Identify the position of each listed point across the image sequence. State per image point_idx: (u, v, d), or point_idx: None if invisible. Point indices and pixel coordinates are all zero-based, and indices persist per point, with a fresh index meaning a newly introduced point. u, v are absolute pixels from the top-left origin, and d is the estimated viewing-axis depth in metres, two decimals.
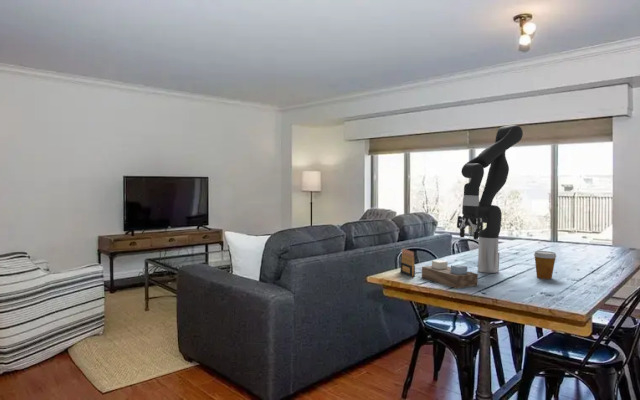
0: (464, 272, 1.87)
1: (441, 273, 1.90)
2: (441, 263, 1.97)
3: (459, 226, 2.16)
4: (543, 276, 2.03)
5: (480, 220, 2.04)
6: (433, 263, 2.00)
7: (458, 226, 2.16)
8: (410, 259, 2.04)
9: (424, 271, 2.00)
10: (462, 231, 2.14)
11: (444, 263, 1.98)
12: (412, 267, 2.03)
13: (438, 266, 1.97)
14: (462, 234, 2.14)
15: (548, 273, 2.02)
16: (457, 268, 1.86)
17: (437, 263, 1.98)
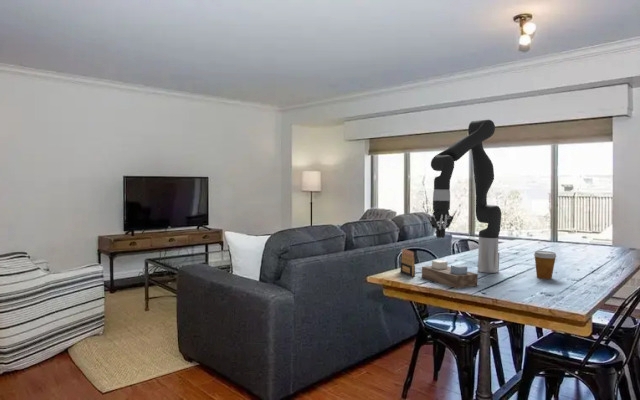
0: (464, 272, 1.87)
1: (441, 273, 1.90)
2: (441, 263, 1.97)
3: None
4: (543, 276, 2.03)
5: None
6: (433, 263, 2.00)
7: (437, 226, 1.97)
8: (410, 259, 2.04)
9: (424, 271, 2.00)
10: None
11: (444, 263, 1.98)
12: (412, 267, 2.03)
13: (438, 266, 1.97)
14: None
15: (548, 273, 2.02)
16: (457, 268, 1.86)
17: (437, 263, 1.98)
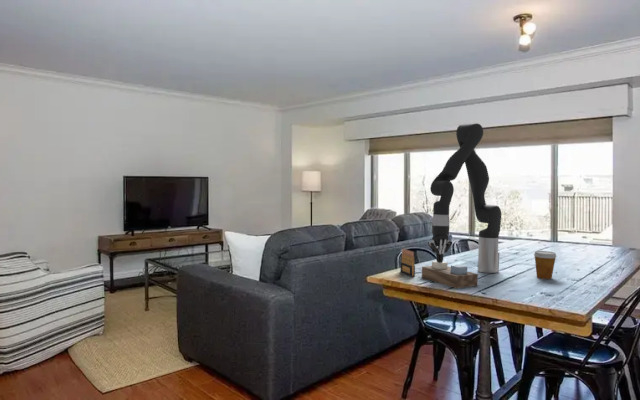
0: (464, 272, 1.87)
1: (441, 273, 1.90)
2: (441, 264, 1.97)
3: (437, 251, 1.98)
4: (543, 276, 2.03)
5: None
6: (433, 264, 2.00)
7: (438, 251, 1.97)
8: (410, 259, 2.04)
9: (424, 271, 2.00)
10: None
11: (444, 264, 1.98)
12: (412, 267, 2.03)
13: (438, 267, 1.97)
14: None
15: (548, 273, 2.02)
16: (457, 268, 1.86)
17: (437, 264, 1.98)
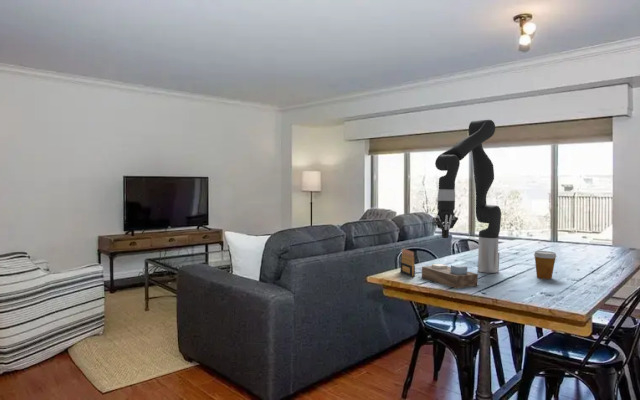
0: (464, 272, 1.87)
1: (441, 273, 1.90)
2: (441, 267, 1.97)
3: None
4: (543, 276, 2.03)
5: None
6: (433, 267, 2.00)
7: (443, 227, 1.94)
8: (410, 259, 2.04)
9: (424, 271, 2.00)
10: None
11: (444, 267, 1.98)
12: (412, 267, 2.03)
13: None
14: None
15: (548, 273, 2.02)
16: (457, 268, 1.86)
17: (437, 267, 1.98)
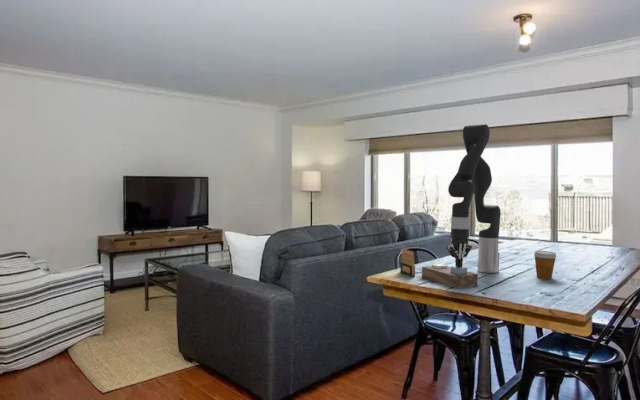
0: (464, 273, 1.87)
1: (441, 273, 1.90)
2: (441, 267, 1.97)
3: None
4: (543, 276, 2.03)
5: None
6: (433, 267, 2.00)
7: (457, 256, 1.87)
8: (410, 259, 2.04)
9: (424, 271, 2.00)
10: None
11: (444, 267, 1.98)
12: (412, 267, 2.03)
13: None
14: None
15: (548, 273, 2.02)
16: (457, 269, 1.86)
17: (437, 267, 1.98)
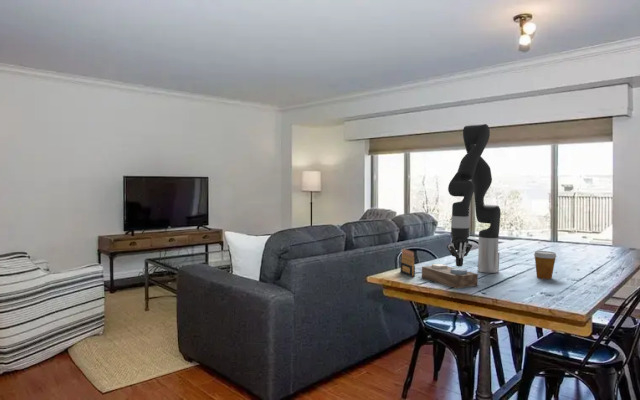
0: None
1: (441, 273, 1.90)
2: (441, 267, 1.97)
3: None
4: (543, 276, 2.03)
5: None
6: (433, 267, 2.00)
7: (457, 255, 1.87)
8: (410, 259, 2.04)
9: (424, 271, 2.00)
10: None
11: (444, 267, 1.98)
12: (412, 267, 2.03)
13: None
14: None
15: (548, 273, 2.02)
16: (457, 272, 1.87)
17: (437, 267, 1.98)
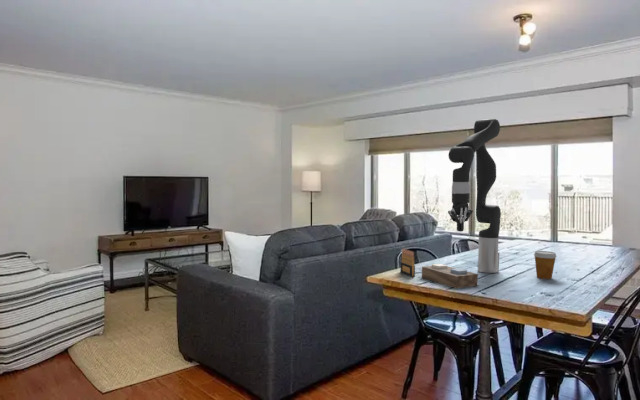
0: None
1: (441, 273, 1.90)
2: (441, 267, 1.97)
3: None
4: (543, 276, 2.03)
5: None
6: (433, 267, 2.00)
7: (458, 220, 1.91)
8: (410, 259, 2.04)
9: (424, 271, 2.00)
10: None
11: (444, 267, 1.98)
12: (412, 267, 2.03)
13: None
14: None
15: (548, 273, 2.02)
16: (457, 272, 1.87)
17: (437, 267, 1.98)
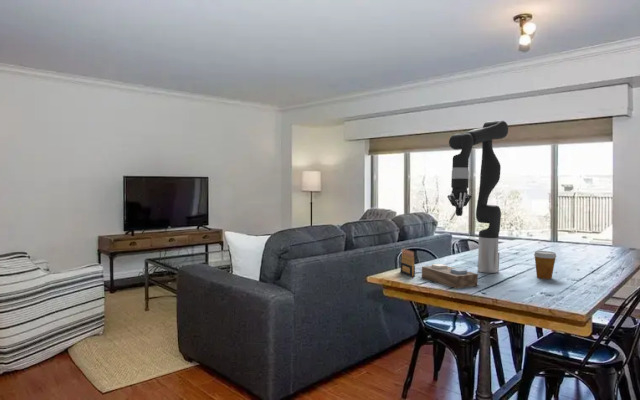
0: None
1: (441, 273, 1.90)
2: (441, 267, 1.97)
3: (457, 204, 1.98)
4: (543, 276, 2.03)
5: None
6: (433, 267, 2.00)
7: (457, 204, 1.97)
8: (410, 259, 2.04)
9: (424, 271, 2.00)
10: None
11: (444, 267, 1.98)
12: (412, 267, 2.03)
13: None
14: None
15: (548, 273, 2.02)
16: (457, 272, 1.87)
17: (437, 267, 1.98)
